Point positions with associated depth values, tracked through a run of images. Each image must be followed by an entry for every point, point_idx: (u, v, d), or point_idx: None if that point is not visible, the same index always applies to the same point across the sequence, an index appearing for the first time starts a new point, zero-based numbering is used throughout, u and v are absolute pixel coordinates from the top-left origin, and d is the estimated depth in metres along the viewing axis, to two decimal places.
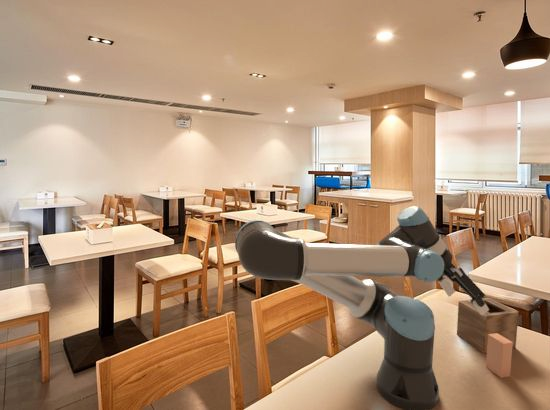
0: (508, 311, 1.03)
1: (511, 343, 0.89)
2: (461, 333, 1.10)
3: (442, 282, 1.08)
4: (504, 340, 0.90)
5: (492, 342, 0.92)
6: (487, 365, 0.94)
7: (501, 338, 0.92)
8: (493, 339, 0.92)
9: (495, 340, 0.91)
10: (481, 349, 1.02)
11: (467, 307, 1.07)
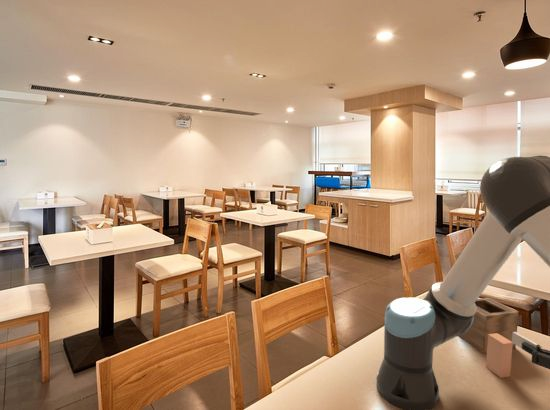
0: (508, 311, 1.03)
1: (511, 343, 0.89)
2: None
3: None
4: (504, 340, 0.90)
5: (492, 342, 0.92)
6: (487, 365, 0.94)
7: (501, 338, 0.92)
8: (493, 339, 0.92)
9: (495, 340, 0.91)
10: (481, 349, 1.02)
11: None
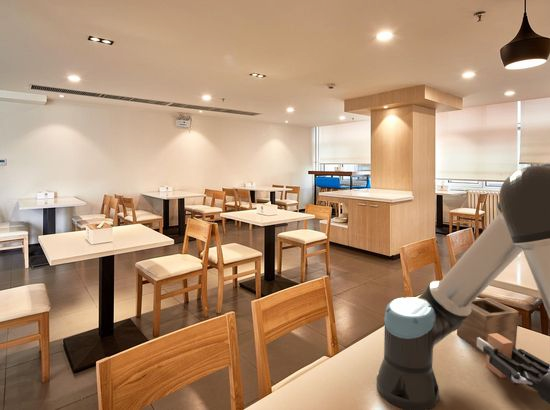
0: (508, 311, 1.03)
1: (511, 343, 0.89)
2: (461, 333, 1.10)
3: None
4: (504, 340, 0.90)
5: (492, 342, 0.92)
6: (487, 365, 0.94)
7: (501, 337, 0.92)
8: (493, 339, 0.92)
9: (495, 340, 0.91)
10: None
11: None
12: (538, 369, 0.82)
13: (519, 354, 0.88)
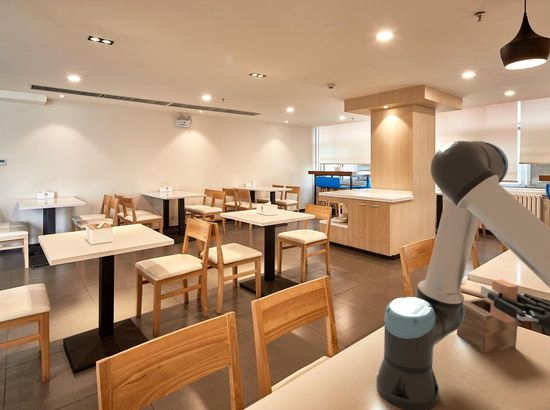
0: None
1: (516, 287, 0.87)
2: (461, 333, 1.10)
3: None
4: (508, 284, 0.88)
5: (496, 287, 0.90)
6: (491, 312, 0.92)
7: (505, 282, 0.90)
8: (498, 284, 0.90)
9: (500, 285, 0.89)
10: (481, 349, 1.02)
11: (467, 307, 1.07)
12: (544, 308, 0.80)
13: (524, 297, 0.86)
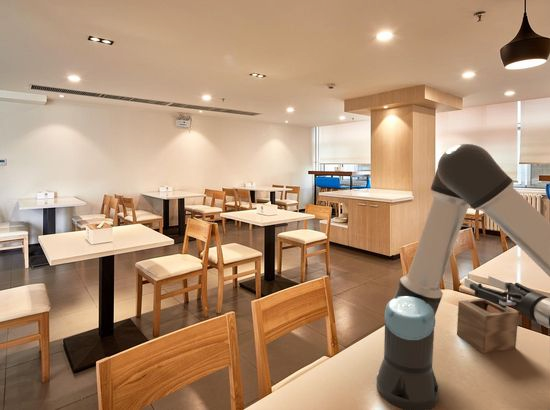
0: (508, 311, 1.03)
1: None
2: (461, 333, 1.10)
3: (503, 284, 1.05)
4: (501, 311, 1.06)
5: (490, 311, 1.08)
6: None
7: (498, 309, 1.07)
8: (492, 308, 1.07)
9: (493, 309, 1.07)
10: (481, 349, 1.02)
11: (467, 307, 1.07)
12: (522, 293, 0.95)
13: (513, 286, 1.02)
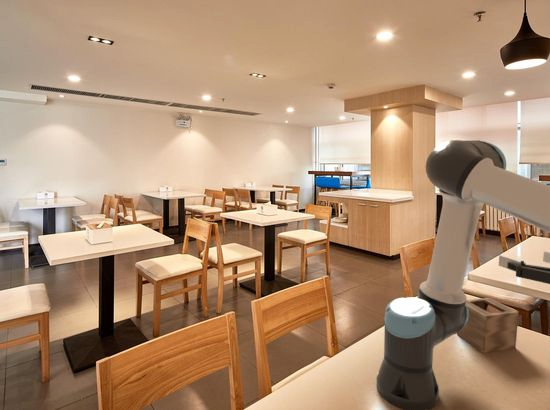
0: (508, 311, 1.03)
1: None
2: (461, 333, 1.10)
3: None
4: (501, 311, 1.06)
5: (490, 311, 1.08)
6: None
7: (498, 309, 1.07)
8: (492, 308, 1.07)
9: (493, 309, 1.07)
10: (481, 349, 1.02)
11: None
12: None
13: None
